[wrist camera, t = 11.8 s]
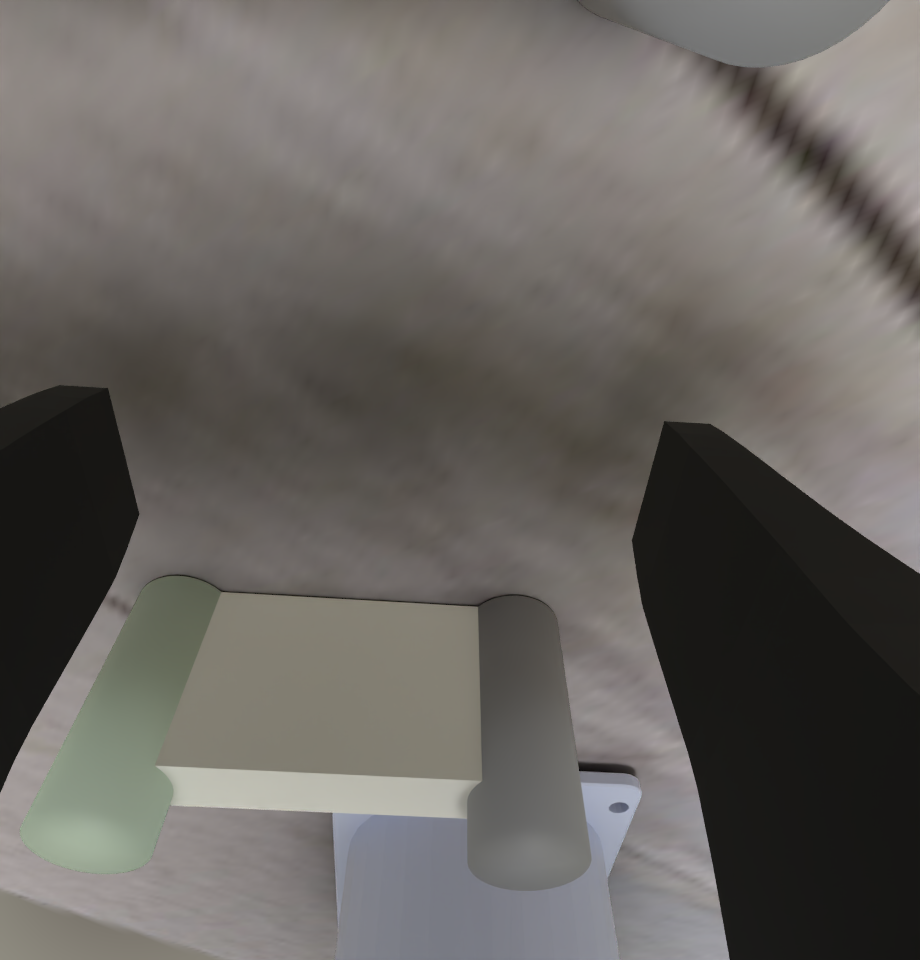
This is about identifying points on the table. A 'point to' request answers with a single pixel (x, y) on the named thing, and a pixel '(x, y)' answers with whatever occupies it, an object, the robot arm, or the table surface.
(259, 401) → the table surface
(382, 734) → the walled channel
